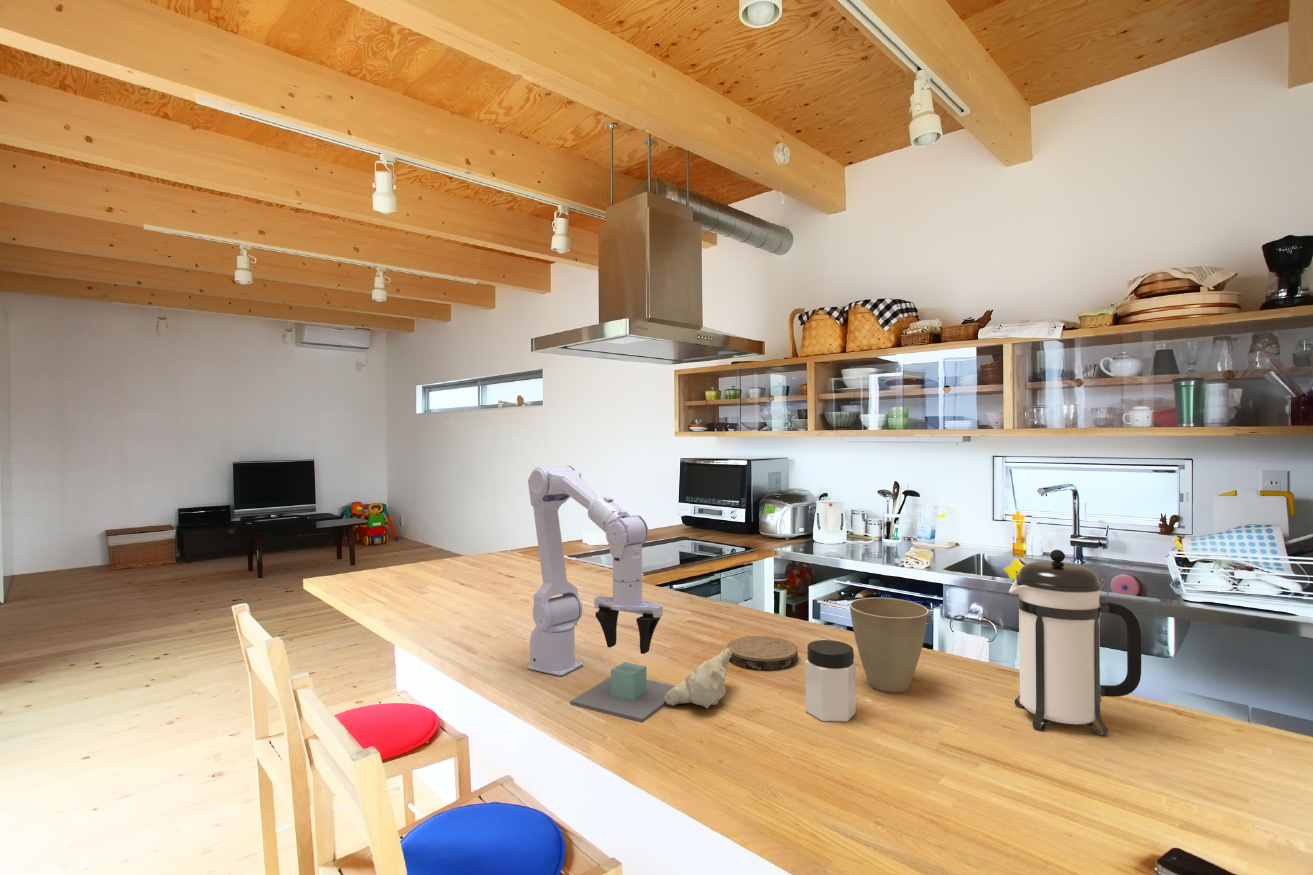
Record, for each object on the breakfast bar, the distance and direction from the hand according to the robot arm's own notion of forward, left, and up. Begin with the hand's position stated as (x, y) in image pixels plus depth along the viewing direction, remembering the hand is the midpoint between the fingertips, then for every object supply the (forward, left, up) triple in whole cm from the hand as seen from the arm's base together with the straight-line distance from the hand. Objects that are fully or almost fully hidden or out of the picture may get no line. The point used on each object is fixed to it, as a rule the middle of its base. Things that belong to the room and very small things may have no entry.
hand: (627, 649), depth 124 cm
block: (0, 0, -9) cm, 9 cm away
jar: (+36, +12, -10) cm, 39 cm away
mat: (0, 0, -9) cm, 9 cm away
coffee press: (+73, +29, -10) cm, 79 cm away
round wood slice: (+15, +33, -10) cm, 38 cm away
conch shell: (+13, +7, -10) cm, 18 cm away
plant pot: (+43, +30, -10) cm, 53 cm away
